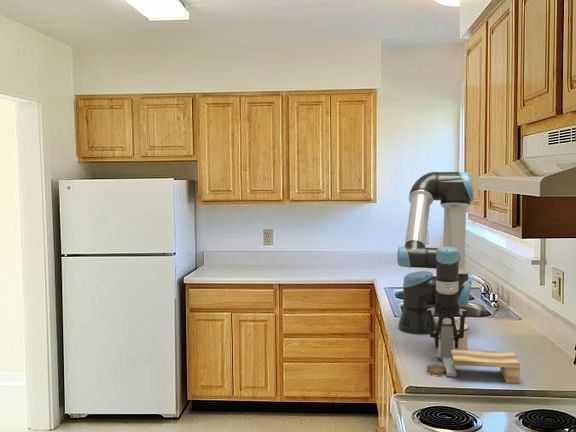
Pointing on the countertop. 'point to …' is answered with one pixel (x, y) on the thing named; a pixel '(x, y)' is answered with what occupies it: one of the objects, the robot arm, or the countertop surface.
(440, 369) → the coaster
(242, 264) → the countertop surface
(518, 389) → the countertop surface
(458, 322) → the teacup with lid
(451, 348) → the gray l-shaped block
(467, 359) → the shelf
